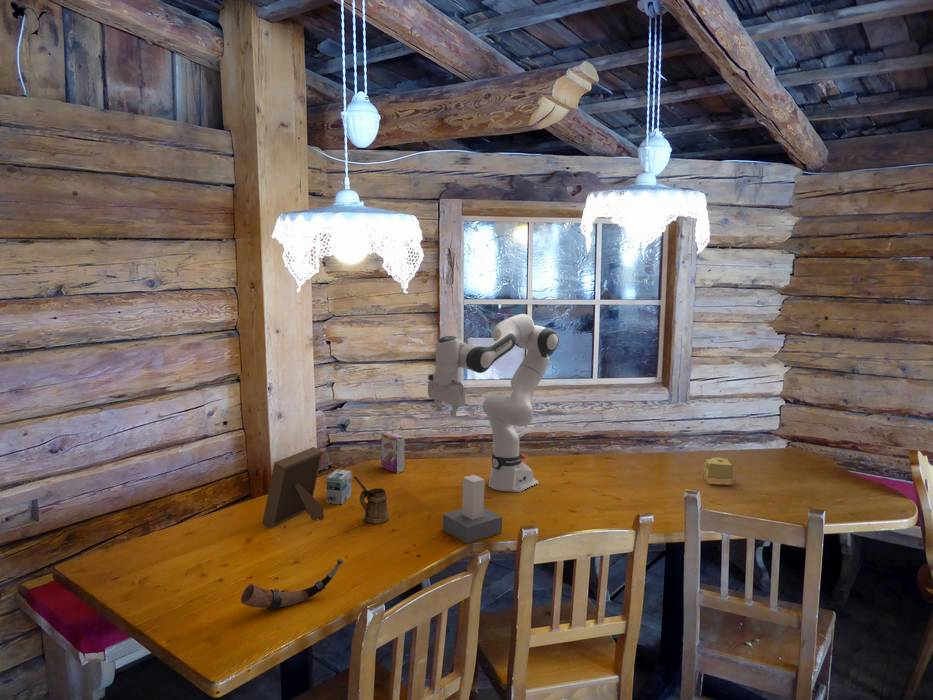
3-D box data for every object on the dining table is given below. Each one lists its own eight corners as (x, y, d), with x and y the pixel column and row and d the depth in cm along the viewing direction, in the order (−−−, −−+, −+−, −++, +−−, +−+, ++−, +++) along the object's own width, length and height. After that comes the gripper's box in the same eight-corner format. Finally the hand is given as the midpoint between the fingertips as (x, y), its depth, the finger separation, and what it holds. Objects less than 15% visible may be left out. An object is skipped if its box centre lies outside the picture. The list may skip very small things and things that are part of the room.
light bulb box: (342, 505, 272) (342, 479, 271) (325, 503, 274) (325, 477, 272) (351, 495, 283) (351, 470, 281) (336, 494, 284) (336, 468, 282)
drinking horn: (238, 613, 193) (238, 579, 192) (338, 585, 210) (338, 554, 208) (245, 622, 189) (244, 588, 187) (346, 593, 205) (346, 561, 204)
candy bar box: (380, 468, 318) (380, 433, 315) (388, 465, 321) (389, 431, 319) (396, 474, 310) (396, 438, 308) (404, 471, 314) (405, 436, 311)
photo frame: (262, 526, 251) (261, 459, 247) (301, 506, 270) (301, 444, 266) (294, 535, 244) (295, 467, 240) (332, 514, 264) (333, 451, 260)
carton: (472, 511, 255) (474, 474, 253) (483, 516, 250) (484, 479, 248) (462, 514, 252) (463, 477, 249) (472, 519, 247) (473, 482, 245)
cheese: (702, 477, 318) (704, 456, 317) (726, 479, 317) (728, 457, 315) (706, 485, 308) (708, 463, 307) (732, 486, 307) (734, 465, 305)
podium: (477, 519, 262) (477, 504, 261) (501, 532, 251) (502, 517, 250) (442, 529, 252) (443, 514, 251) (466, 543, 241) (467, 527, 241)
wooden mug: (350, 518, 260) (350, 472, 257) (384, 513, 266) (385, 468, 263) (356, 527, 252) (356, 479, 249) (392, 522, 258) (392, 475, 255)
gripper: (469, 382, 263) (468, 417, 265) (438, 373, 279) (437, 406, 281) (456, 384, 259) (455, 420, 261) (425, 374, 275) (424, 408, 277)
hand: (445, 413), depth 271 cm, fingers open, 8 cm apart
